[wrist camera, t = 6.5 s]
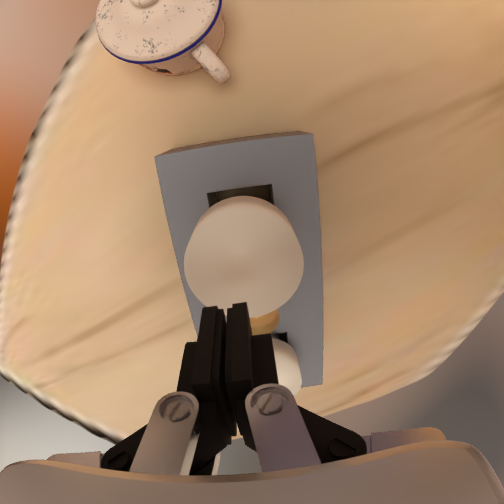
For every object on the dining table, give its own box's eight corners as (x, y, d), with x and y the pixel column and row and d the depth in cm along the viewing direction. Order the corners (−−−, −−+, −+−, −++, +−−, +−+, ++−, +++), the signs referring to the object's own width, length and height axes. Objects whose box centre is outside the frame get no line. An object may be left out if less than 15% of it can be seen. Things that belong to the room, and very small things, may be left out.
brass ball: (273, 274, 26) (277, 296, 23) (277, 309, 28) (281, 334, 25) (231, 280, 27) (229, 302, 23) (237, 314, 28) (237, 339, 25)
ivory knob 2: (287, 298, 33) (300, 355, 25) (291, 343, 36) (302, 401, 27) (228, 306, 33) (224, 364, 25) (237, 350, 36) (236, 409, 27)
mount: (299, 131, 27) (312, 133, 22) (313, 350, 38) (322, 384, 32) (171, 149, 28) (154, 156, 22) (219, 361, 38) (216, 396, 33)
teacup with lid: (116, 39, 23) (54, 8, 12) (187, -20, 20) (160, -79, 10) (191, 119, 27) (158, 118, 16) (268, 58, 24) (283, 20, 14)
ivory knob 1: (279, 172, 23) (299, 202, 15) (287, 248, 26) (306, 310, 18) (196, 184, 24) (172, 220, 15) (211, 258, 26) (197, 323, 18)
